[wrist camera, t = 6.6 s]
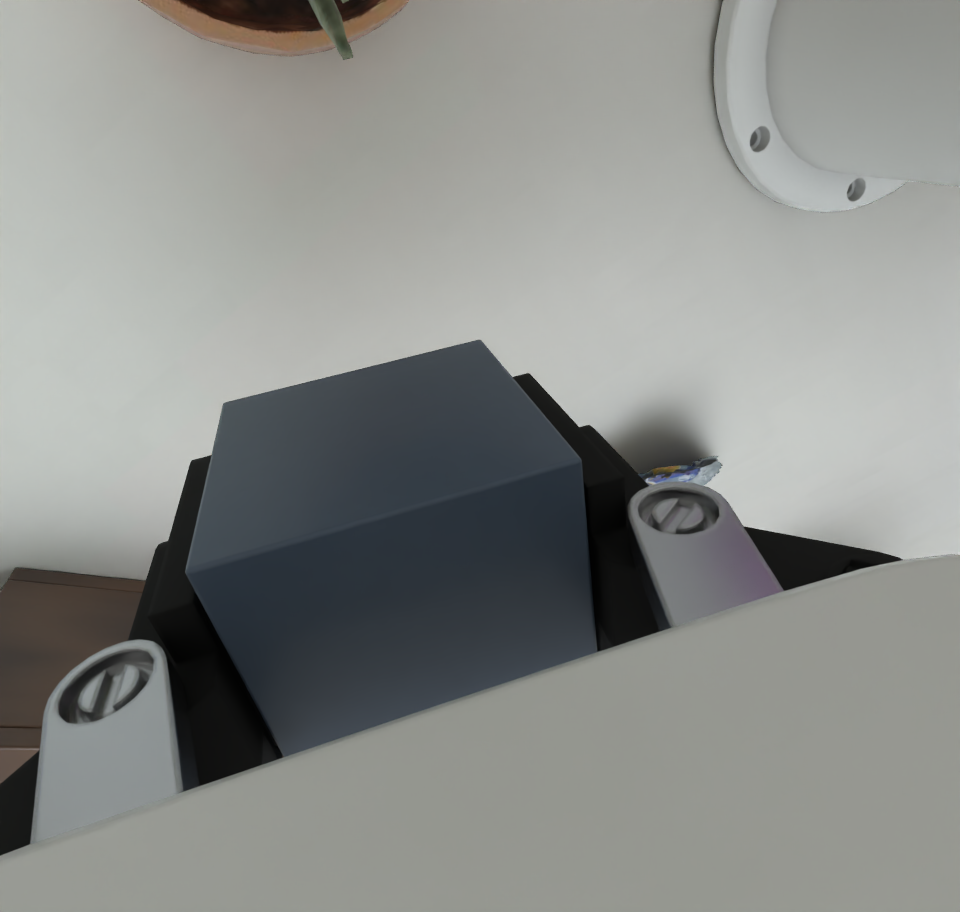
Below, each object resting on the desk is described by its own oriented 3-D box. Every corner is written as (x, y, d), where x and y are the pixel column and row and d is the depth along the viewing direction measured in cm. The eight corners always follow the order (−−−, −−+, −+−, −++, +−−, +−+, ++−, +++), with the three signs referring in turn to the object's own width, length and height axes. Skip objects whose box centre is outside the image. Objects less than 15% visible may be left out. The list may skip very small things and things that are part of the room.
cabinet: (0, 768, 31) (-92, 974, 23) (14, 566, 26) (-97, 746, 18) (283, 769, 36) (279, 938, 28) (339, 600, 31) (352, 752, 24)
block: (222, 401, 10) (182, 572, 6) (481, 337, 11) (583, 457, 7) (303, 598, 13) (309, 809, 9) (513, 535, 13) (603, 706, 9)
